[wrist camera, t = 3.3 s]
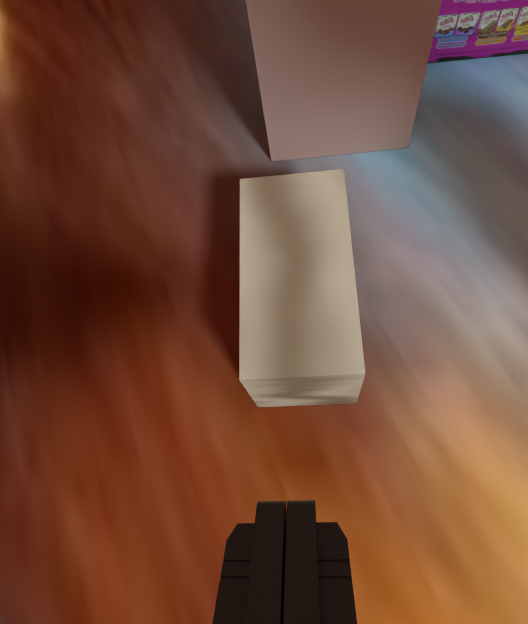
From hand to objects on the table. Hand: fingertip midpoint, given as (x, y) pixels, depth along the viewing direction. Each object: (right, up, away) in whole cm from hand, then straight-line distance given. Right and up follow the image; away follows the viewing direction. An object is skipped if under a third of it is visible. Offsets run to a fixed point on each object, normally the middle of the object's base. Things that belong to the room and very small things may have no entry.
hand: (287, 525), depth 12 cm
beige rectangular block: (+2, +5, +24) cm, 24 cm away
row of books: (+6, +26, +32) cm, 41 cm away
